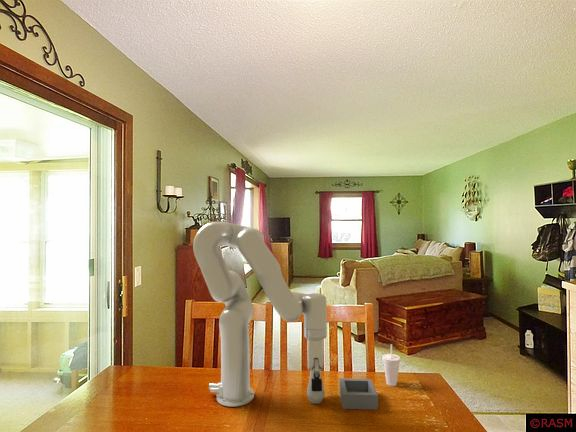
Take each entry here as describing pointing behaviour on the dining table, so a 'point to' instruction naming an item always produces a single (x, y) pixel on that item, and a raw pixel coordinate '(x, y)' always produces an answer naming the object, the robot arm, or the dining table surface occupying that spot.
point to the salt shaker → (314, 392)
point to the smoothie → (391, 368)
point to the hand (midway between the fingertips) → (316, 383)
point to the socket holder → (358, 394)
